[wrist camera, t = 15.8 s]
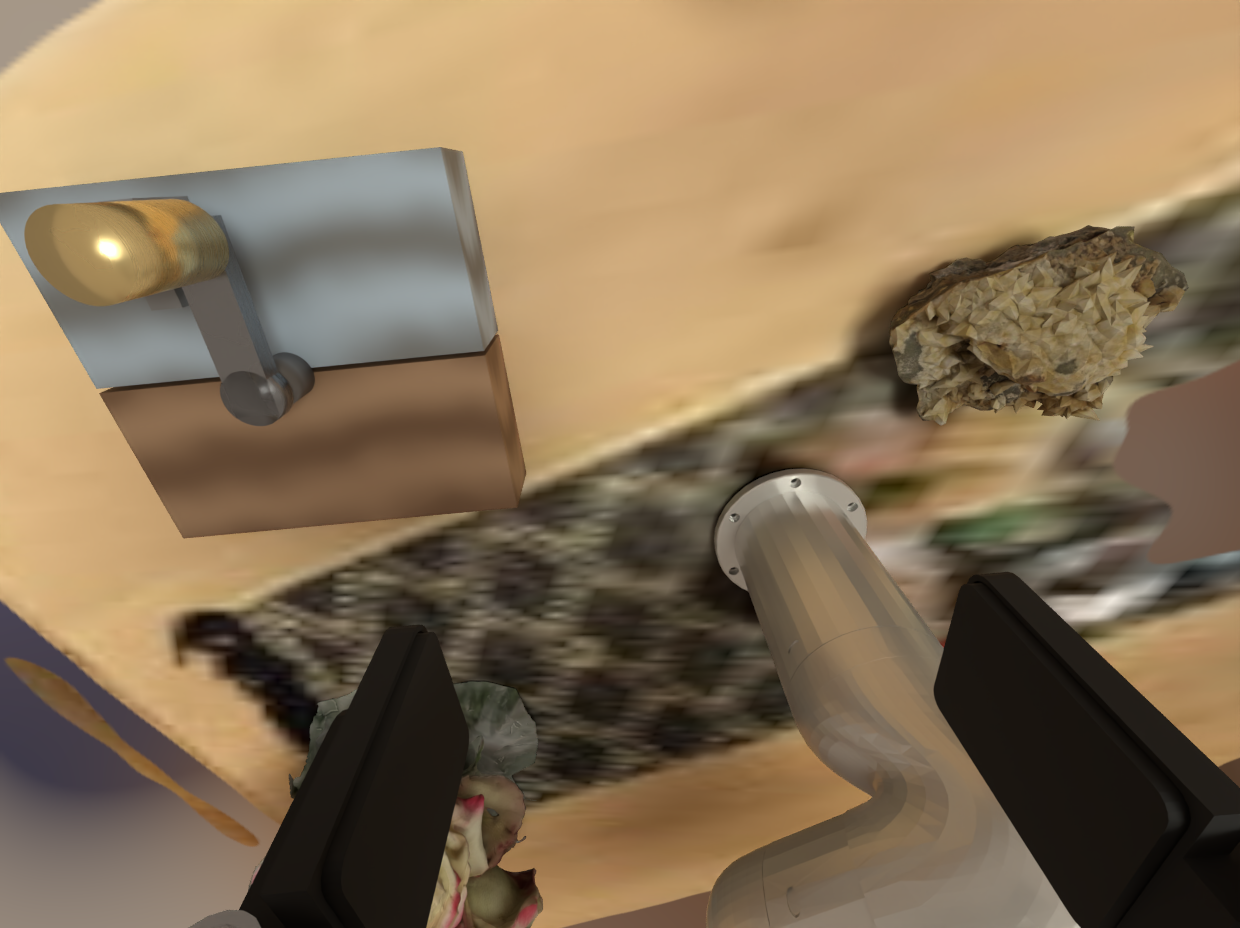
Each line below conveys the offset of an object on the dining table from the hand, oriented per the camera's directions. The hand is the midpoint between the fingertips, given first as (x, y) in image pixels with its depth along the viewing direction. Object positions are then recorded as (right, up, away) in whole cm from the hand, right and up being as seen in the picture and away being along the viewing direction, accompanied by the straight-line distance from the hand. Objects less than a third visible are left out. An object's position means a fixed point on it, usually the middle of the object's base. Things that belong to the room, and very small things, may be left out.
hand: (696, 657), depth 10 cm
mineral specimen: (+23, +13, +28) cm, 39 cm away
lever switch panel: (-22, +11, +27) cm, 37 cm away
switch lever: (-22, +11, +19) cm, 31 cm away
